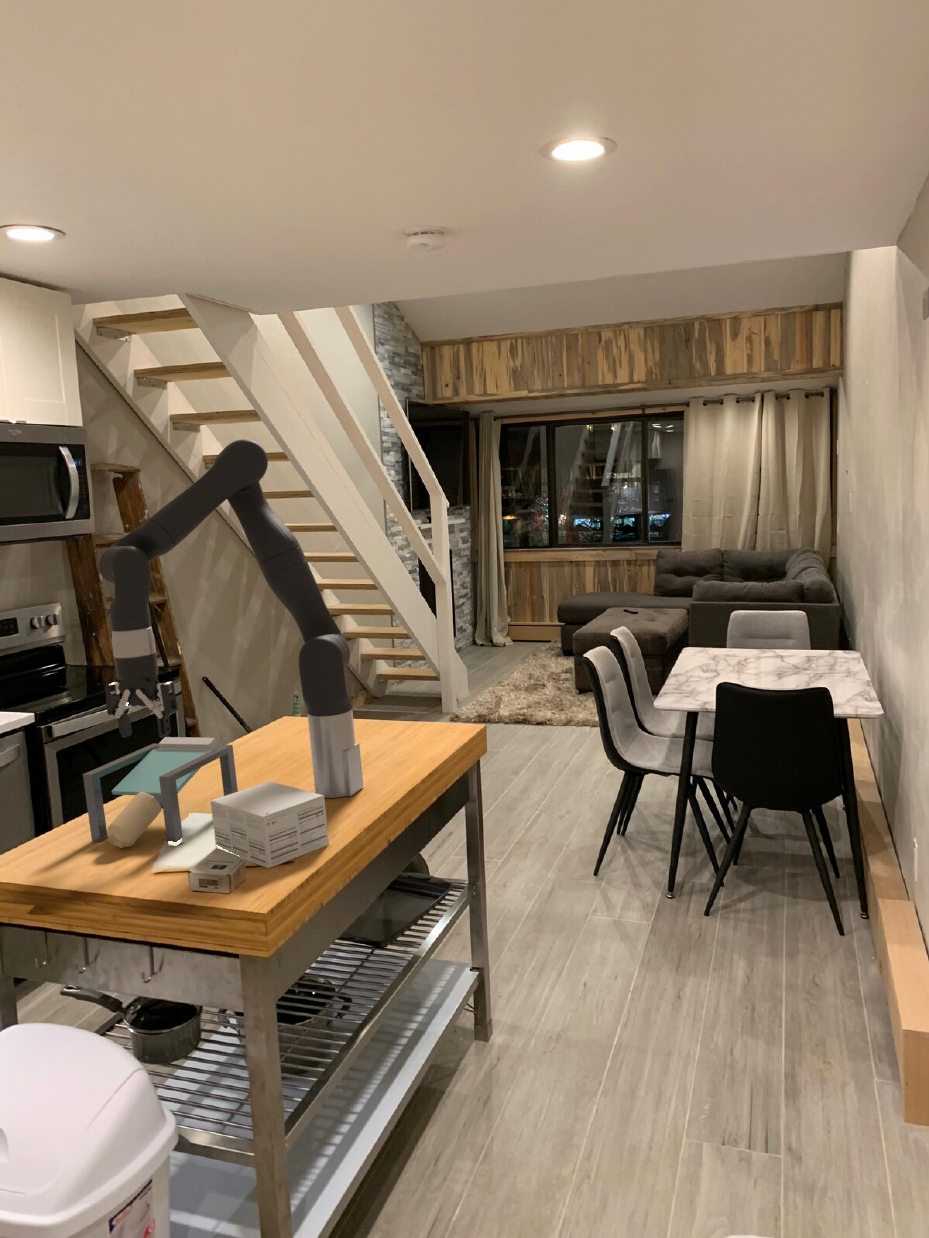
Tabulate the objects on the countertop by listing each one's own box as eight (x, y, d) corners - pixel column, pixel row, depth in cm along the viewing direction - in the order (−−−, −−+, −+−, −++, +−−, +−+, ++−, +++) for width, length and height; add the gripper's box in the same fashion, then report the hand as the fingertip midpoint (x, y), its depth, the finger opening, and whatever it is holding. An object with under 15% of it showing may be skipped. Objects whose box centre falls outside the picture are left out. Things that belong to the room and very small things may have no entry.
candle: (149, 790, 172) (114, 830, 165) (167, 811, 174) (133, 852, 167) (132, 792, 175) (96, 832, 168) (149, 813, 178) (115, 853, 170)
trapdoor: (164, 746, 192) (160, 737, 191) (222, 747, 188) (219, 737, 187) (114, 797, 177) (110, 787, 176) (175, 800, 173) (172, 789, 172)
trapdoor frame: (161, 803, 195) (153, 743, 193) (239, 807, 188) (232, 744, 187) (91, 841, 175) (82, 774, 173) (176, 846, 169) (168, 777, 167)
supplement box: (331, 845, 164) (326, 794, 163) (268, 870, 155) (263, 816, 154) (275, 826, 176) (270, 779, 175) (214, 849, 167) (209, 799, 165)
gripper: (179, 648, 175) (189, 731, 177) (117, 649, 180) (127, 730, 182) (154, 655, 168) (164, 742, 170) (90, 656, 173) (101, 741, 175)
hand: (145, 736), depth 176 cm, fingers open, 8 cm apart
